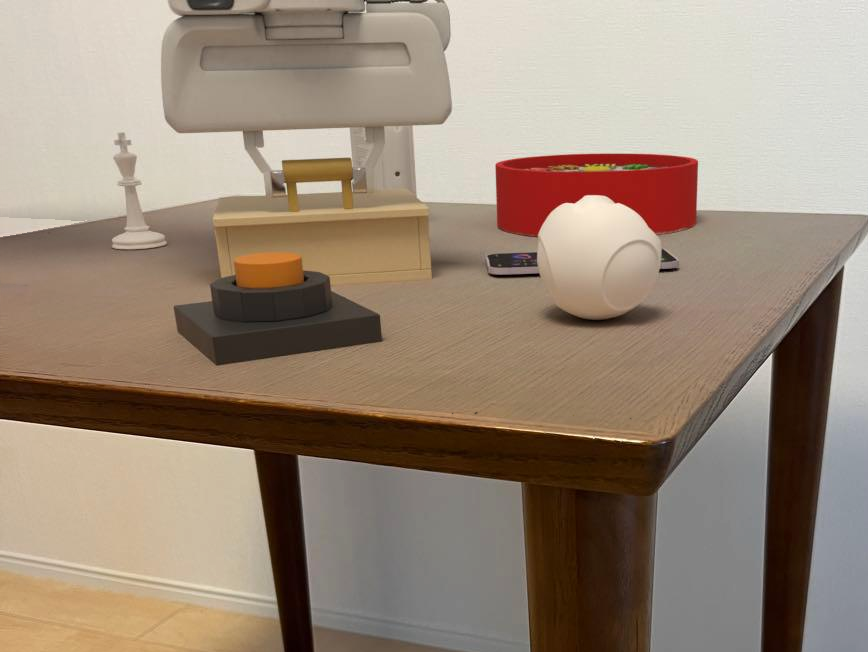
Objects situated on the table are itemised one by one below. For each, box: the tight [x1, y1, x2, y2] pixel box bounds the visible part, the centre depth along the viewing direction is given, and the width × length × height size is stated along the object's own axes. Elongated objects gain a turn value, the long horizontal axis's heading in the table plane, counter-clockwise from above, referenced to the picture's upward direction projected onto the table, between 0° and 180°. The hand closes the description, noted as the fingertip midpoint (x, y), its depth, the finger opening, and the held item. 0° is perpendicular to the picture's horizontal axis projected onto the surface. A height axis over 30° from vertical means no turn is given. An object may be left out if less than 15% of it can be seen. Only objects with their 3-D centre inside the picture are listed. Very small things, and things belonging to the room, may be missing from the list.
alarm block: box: [173, 270, 383, 367], centre depth 67 cm, size 10×10×4 cm
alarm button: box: [234, 252, 304, 288], centre depth 66 cm, size 4×4×2 cm
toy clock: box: [494, 153, 699, 237], centre depth 109 cm, size 20×6×20 cm
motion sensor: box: [536, 195, 662, 321], centre depth 69 cm, size 8×8×8 cm
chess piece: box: [111, 132, 168, 251], centre depth 101 cm, size 5×5×10 cm
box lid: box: [212, 157, 430, 228], centre depth 85 cm, size 13×16×4 cm
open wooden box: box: [213, 216, 433, 287], centre depth 87 cm, size 13×16×5 cm
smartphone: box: [485, 247, 680, 276], centre depth 88 cm, size 8×1×15 cm
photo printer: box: [349, 125, 418, 198], centre depth 111 cm, size 10×4×12 cm, turn 27°
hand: (319, 194), depth 81 cm, fingers closed on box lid, 5 cm apart
